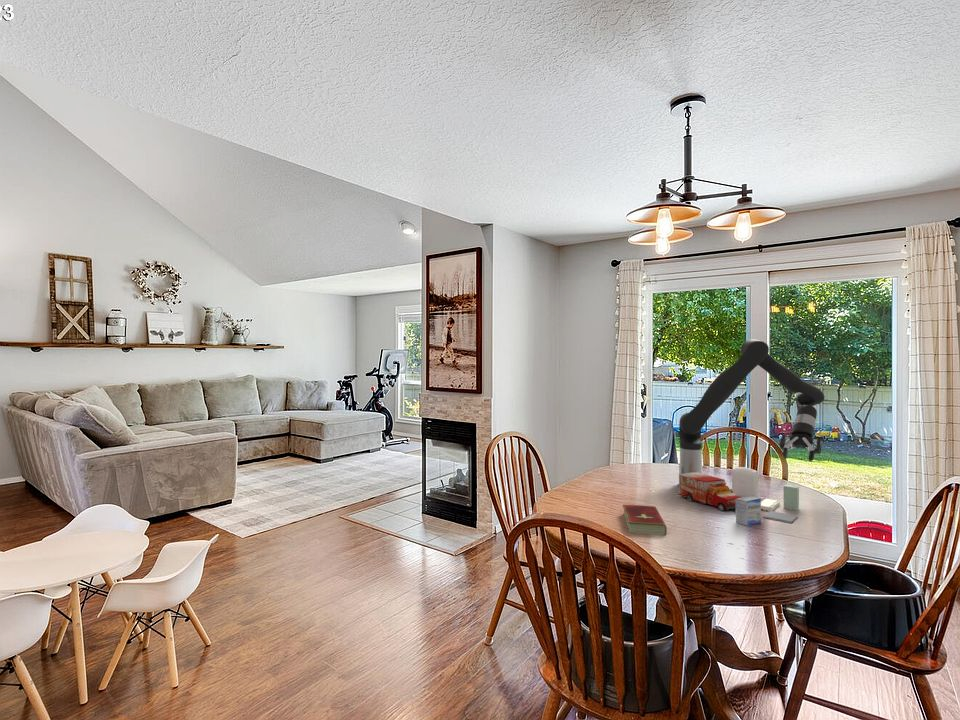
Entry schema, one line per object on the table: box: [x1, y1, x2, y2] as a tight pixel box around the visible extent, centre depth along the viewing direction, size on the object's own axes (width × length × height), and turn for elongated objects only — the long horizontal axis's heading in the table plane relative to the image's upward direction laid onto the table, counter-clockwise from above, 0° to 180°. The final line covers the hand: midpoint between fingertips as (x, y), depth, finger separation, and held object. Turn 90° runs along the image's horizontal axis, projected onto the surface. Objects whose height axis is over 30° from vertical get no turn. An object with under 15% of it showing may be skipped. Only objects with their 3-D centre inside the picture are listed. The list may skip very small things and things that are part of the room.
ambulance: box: [677, 472, 743, 512], centre depth 200 cm, size 11×25×10 cm, turn 21°
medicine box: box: [735, 496, 762, 527], centre depth 175 cm, size 8×4×9 cm, turn 117°
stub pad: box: [762, 510, 799, 524], centre depth 181 cm, size 9×9×1 cm
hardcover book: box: [622, 504, 667, 536], centre depth 174 cm, size 12×21×4 cm, turn 169°
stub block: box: [783, 484, 800, 511], centre depth 193 cm, size 4×3×8 cm, turn 46°
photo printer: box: [731, 466, 760, 498], centre depth 208 cm, size 10×4×12 cm, turn 39°
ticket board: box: [761, 498, 781, 512], centre depth 194 cm, size 5×12×2 cm, turn 136°
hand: (797, 458), depth 200 cm, fingers open, 8 cm apart
